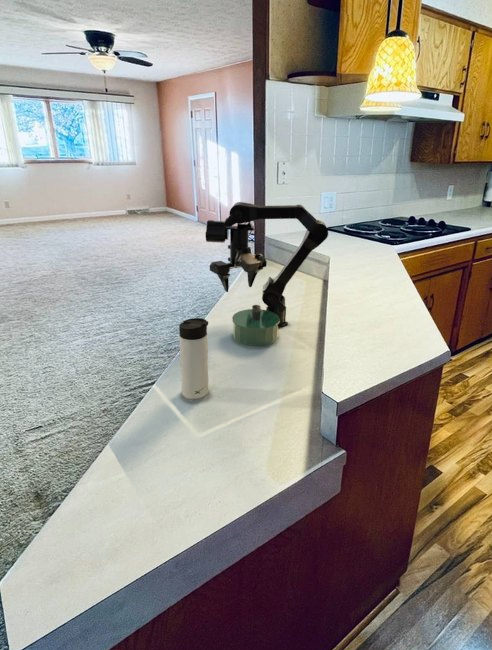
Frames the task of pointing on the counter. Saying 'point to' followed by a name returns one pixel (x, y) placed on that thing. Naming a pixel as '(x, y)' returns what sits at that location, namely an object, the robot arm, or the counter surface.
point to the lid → (255, 318)
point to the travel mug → (194, 358)
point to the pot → (255, 336)
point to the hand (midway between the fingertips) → (238, 289)
